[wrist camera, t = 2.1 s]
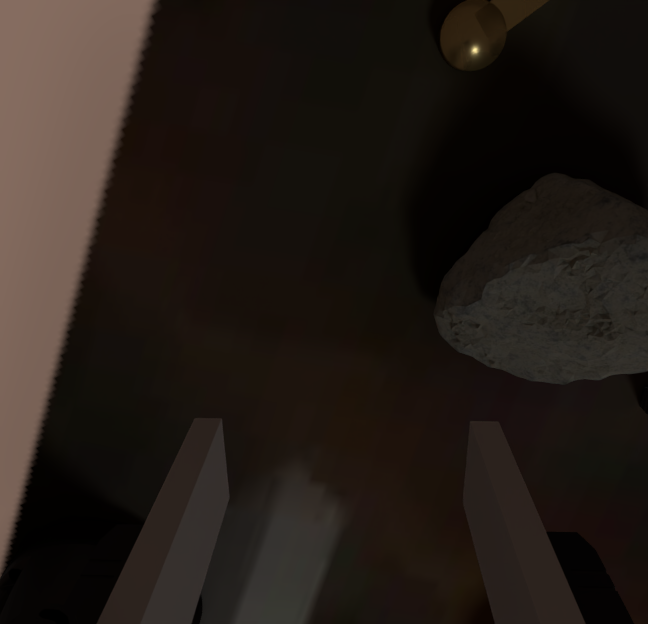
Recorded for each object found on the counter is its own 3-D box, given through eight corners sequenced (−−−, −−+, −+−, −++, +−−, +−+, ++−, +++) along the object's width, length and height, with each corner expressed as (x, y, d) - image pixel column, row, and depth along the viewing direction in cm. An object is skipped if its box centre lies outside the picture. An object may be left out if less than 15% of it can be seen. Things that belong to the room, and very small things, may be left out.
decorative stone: (662, 120, 30) (608, 125, 23) (756, 307, 29) (732, 373, 22) (462, 228, 39) (378, 256, 32) (532, 372, 38) (463, 434, 31)
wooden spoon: (457, 84, 30) (462, 84, 29) (425, 29, 29) (428, 27, 28) (601, -21, 28) (612, -25, 27) (570, -83, 27) (580, -90, 26)
